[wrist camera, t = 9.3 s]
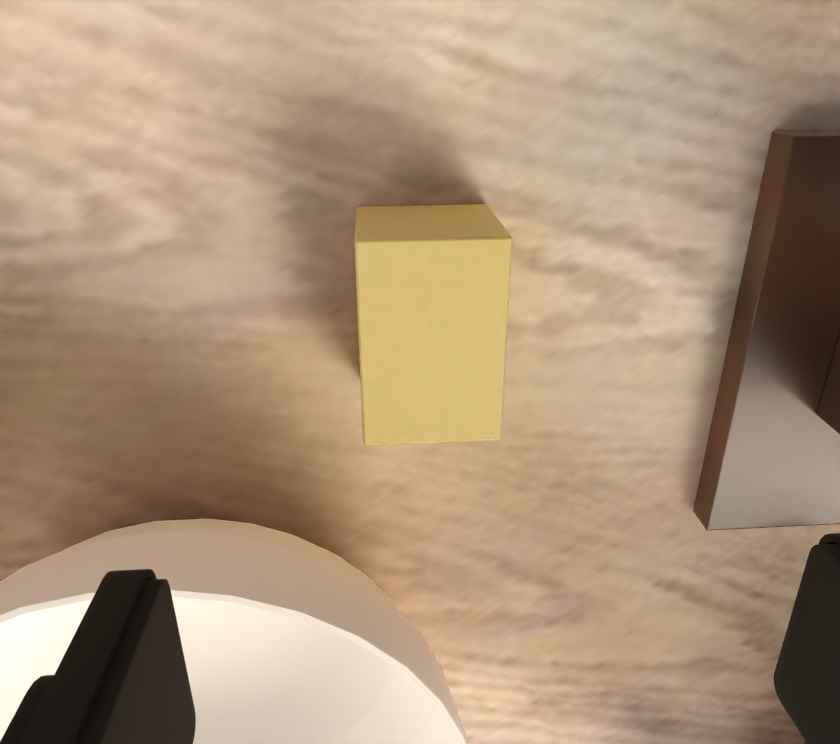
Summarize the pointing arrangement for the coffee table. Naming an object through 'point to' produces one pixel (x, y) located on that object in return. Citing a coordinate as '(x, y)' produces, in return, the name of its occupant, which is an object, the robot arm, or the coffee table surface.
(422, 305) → the butter
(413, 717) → the bowl
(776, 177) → the lever stand
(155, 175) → the coffee table surface
